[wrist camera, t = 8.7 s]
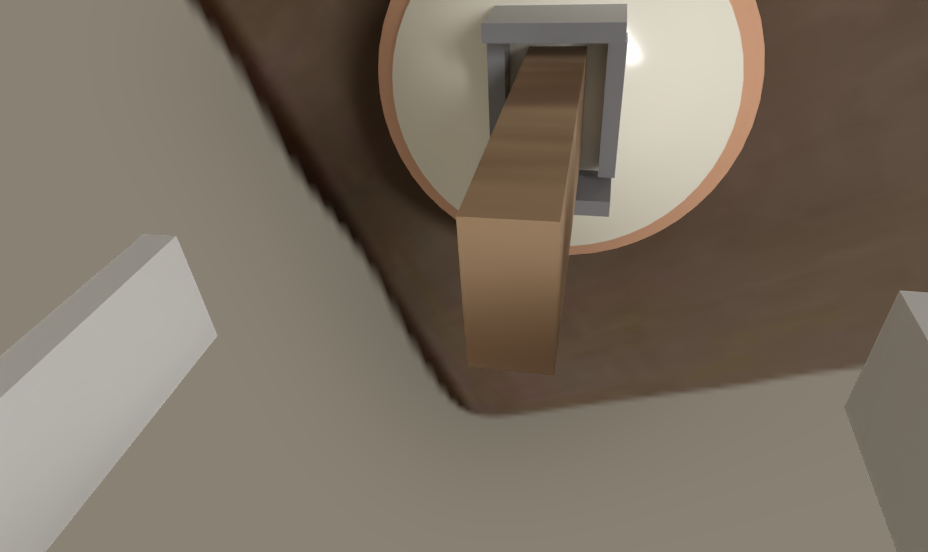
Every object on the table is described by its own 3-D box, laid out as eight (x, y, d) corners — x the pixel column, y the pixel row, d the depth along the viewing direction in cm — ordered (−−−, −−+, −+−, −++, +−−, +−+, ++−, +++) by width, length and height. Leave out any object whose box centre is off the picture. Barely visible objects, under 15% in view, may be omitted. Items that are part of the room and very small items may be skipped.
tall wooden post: (529, 46, 21) (456, 216, 12) (587, 46, 21) (560, 222, 11) (528, 152, 23) (467, 366, 14) (581, 153, 23) (554, 375, 14)
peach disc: (380, -121, 22) (314, -110, 18) (793, -146, 19) (845, -141, 15) (418, 211, 30) (380, 279, 26) (713, 229, 27) (731, 309, 23)
